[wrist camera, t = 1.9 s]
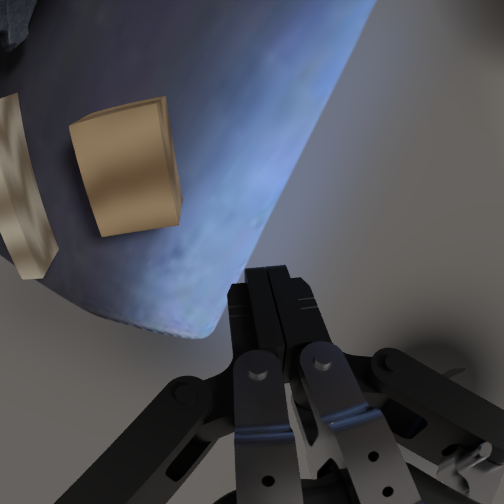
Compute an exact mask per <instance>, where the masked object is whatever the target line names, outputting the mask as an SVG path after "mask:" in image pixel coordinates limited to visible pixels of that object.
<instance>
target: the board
mask: <svg viewBox="0 0 504 504" xmlns="http://www.w3.org/2000/svg"><path fill="white" fill-rule="evenodd" d="M0 232H1V235H2V237H3V240H4V242H5V244H6V246H7V249H8V251H9V253H10V255H11V257H12V260H13V262H14V264H15V266H16V268H17V270H18V272H19V274H20V276H21V278H22V279H39V278H43V277H44V275H45V273H46V271H47V270H48V268H49V266H50V264H51V262H52V260H53V259H54V257H55V255H56V253H57V252H58V250H59V248H58V246H57V243H56V241H55V238H54V235H53V233H52V230H51V227H50V224H49V221H48V219H47V216H46V213H45V210H44V207H43V203H42V200H41V197H40V194H39V190H38V187H37V184H36V180H35V176H34V173H33V169H32V165H31V161H30V157H29V153H28V149H27V144H26V139H25V135H24V130H23V124H22V119H21V113H20V107H19V100H18V93H15V94H12V95H9V96H6V97H3V98H1V99H0Z"/></svg>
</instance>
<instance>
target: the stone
mask: <svg viewBox="0 0 504 504" xmlns="http://www.w3.org/2000/svg"><path fill="white" fill-rule="evenodd" d="M36 4H37V0H0V47H3V48H4V50H5V51H6V52H12V50H13V49H15V48H16V47H17V46H18V45H19V44H20V43H21V42H23V41H24V40H25V39H26V38H27V36H28V35H29V31H28V25H29V21H30V18H31V16H32V14H33V11H34V8H35V6H36Z"/></svg>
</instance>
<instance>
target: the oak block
mask: <svg viewBox="0 0 504 504" xmlns="http://www.w3.org/2000/svg"><path fill="white" fill-rule="evenodd" d="M69 130H70V134H71V138H72V142H73V146H74V150H75V154H76V158H77V161H78V165H79V168H80V172H81V175H82V179H83V182H84V186H85V189H86V192H87V195H88V198H89V201H90V204H91V207H92V210H93V213H94V216H95V219H96V222H97V225H98V228H99V230H100V233H101V236H102V237H106V236H112V235H118V234H124V233H130V232H137V231H143V230H150V229H156V228H163V227H170V226H177V225H179V222H180V215H181V208H182V201H183V198H182V193H181V187H180V182H179V177H178V171H177V165H176V160H175V154H174V148H173V142H172V135H171V129H170V123H169V116H168V109H167V102H166V96H162V97H157V98H152V99H147V100H142V101H138V102H133V103H129V104H125V105H121V106H117V107H113V108H109V109H105V110H102V111H98V112H94V113H91V114H89V115H87V116H85V117H83V118H82V119H80V120H78V121H76V122H75V123H73V124H71V125H70V126H69Z"/></svg>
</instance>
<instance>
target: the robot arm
mask: <svg viewBox="0 0 504 504" xmlns="http://www.w3.org/2000/svg"><path fill="white" fill-rule="evenodd" d="M227 299H228V311H229V321H230V331H231V340H232V349H233V359H232V362H231V364H230V365H229V367H228V368H227V369H226V370H225V371H223V372H222V373H220V374H218V375H216V376H214V377H211V378H208V379H206V380H202V379H200V378H198V377H194V376H181V377H178V378H176V379H173V380H172V381H170V382H169V383H168V384H167V385H166V387H165V388H164V389H163V390H162V391H161V392H160V393H159V394H158V395H157V396H156V398H155V399H154V400H153V401H152V402H151V403H150V404H149V405H148V406H147V407H146V408H145V409H144V410H143V412H142V413H141V414H140V415H139V416H138V417H137V418H136V419H135V420H134V421H133V422H132V423H131V424H130V425H129V426H128V428H127V429H126V430H125V431H124V432H123V433H122V434H121V435H120V436H119V437H118V438H117V439H116V440H115V441H114V442H113V444H111V446H110V447H109V448H108V449H107V450H106V451H105V452H104V453H103V454H102V455H101V456H100V457H99V458H98V459H97V460H96V461H95V462H94V463H93V464H92V465H91V467H89V468H88V469H87V470H86V471H85V472H84V473H83V475H82V476H81V477H80V478H79V479H78V480H77V481H76V482H75V483H74V484H73V485H72V486H71V487H70V488H69V489H68V490H67V491H66V492H65V493H64V494H63V495H62V496H61V497H60V498H59V499H58V500H57V501H56V502H55V503H54V504H166V503H167V502H168V500H169V499H170V498H171V497H172V496H173V494H174V493H175V492H176V491H177V490H178V489H179V488H180V486H181V485H182V484H183V483H184V482H185V480H186V479H187V478H188V477H189V476H190V474H191V473H192V472H193V471H194V469H195V468H196V467H197V466H198V464H199V463H200V462H201V461H202V460H203V458H204V457H205V456H206V454H207V453H208V452H209V451H210V449H211V448H212V447H213V445H214V444H215V443H216V441H217V440H218V439H219V438H221V437H223V436H226V435H228V434H230V433H233V432H235V434H234V447H235V472H236V490H234V491H232V492H230V493H228V494H226V495H224V496H223V497H221V498H220V499H218V500H217V501H216V502H214V503H213V504H491V502H492V500H493V498H494V495H495V493H496V490H497V488H498V486H499V483H500V480H501V478H502V475H503V473H504V410H503V409H501V408H499V407H497V406H496V405H494V404H492V403H490V402H489V401H487V400H485V399H483V398H481V397H480V396H478V395H476V394H474V393H473V392H471V391H469V390H468V389H466V388H464V387H462V386H460V385H459V384H457V383H455V382H453V381H452V380H450V379H448V378H447V377H445V376H443V375H441V374H440V373H438V372H436V371H435V370H433V369H431V368H429V367H428V366H426V365H424V364H422V363H421V362H419V361H417V360H416V359H414V358H412V357H410V356H409V355H407V354H405V353H403V352H402V351H400V350H398V349H395V348H383V349H380V350H378V351H377V352H376V353H375V354H374V356H373V357H366V356H355V355H350V354H346V353H344V352H342V351H341V349H340V348H339V347H337V346H336V345H334V344H333V343H332V341H331V339H330V337H329V334H328V331H327V329H326V326H325V324H324V321H323V318H322V316H321V313H320V311H319V308H318V307H317V303H316V301H315V299H314V296H313V293H312V290H311V288H310V286H309V285H308V284H307V283H306V282H305V281H304V280H303V279H302V278H301V277H299V278H290V275H289V272H288V270H287V267H286V265H280V266H268V267H259V268H258V267H257V268H247V269H245V283H237V284H232V285H231V287H230V289H229V291H228V294H227ZM285 383H290V386H291V390H292V396H291V403H292V407H293V410H294V413H295V416H296V419H297V422H298V425H299V428H300V431H301V434H302V437H303V440H304V443H305V447H306V451H307V463H308V467H309V470H310V473H311V476H312V479H300V472H299V465H298V457H297V451H296V450H297V449H296V443H295V437H294V433H293V430H292V429H291V427H290V423H289V416H288V409H287V401H286V394H285V387H284V384H285ZM396 442H397V443H398V444H400V445H402V446H404V447H405V448H407V449H409V450H411V451H412V452H414V453H416V454H417V455H419V456H421V457H423V458H425V459H426V460H428V461H430V462H432V463H434V464H436V465H438V466H439V467H438V471H437V474H436V476H437V479H438V480H440V481H443V482H444V483H445V484H446V485H445V484H443V483H442V482H440V481H438V480H437V479H435V478H433V477H431V476H430V475H428V474H426V473H425V472H423V471H421V470H420V469H418V468H416V467H414V466H413V465H411V464H409V463H407V462H405V460H404V458H403V456H402V454H401V451H400V449H399V447H398V445H397V443H396Z"/></svg>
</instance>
